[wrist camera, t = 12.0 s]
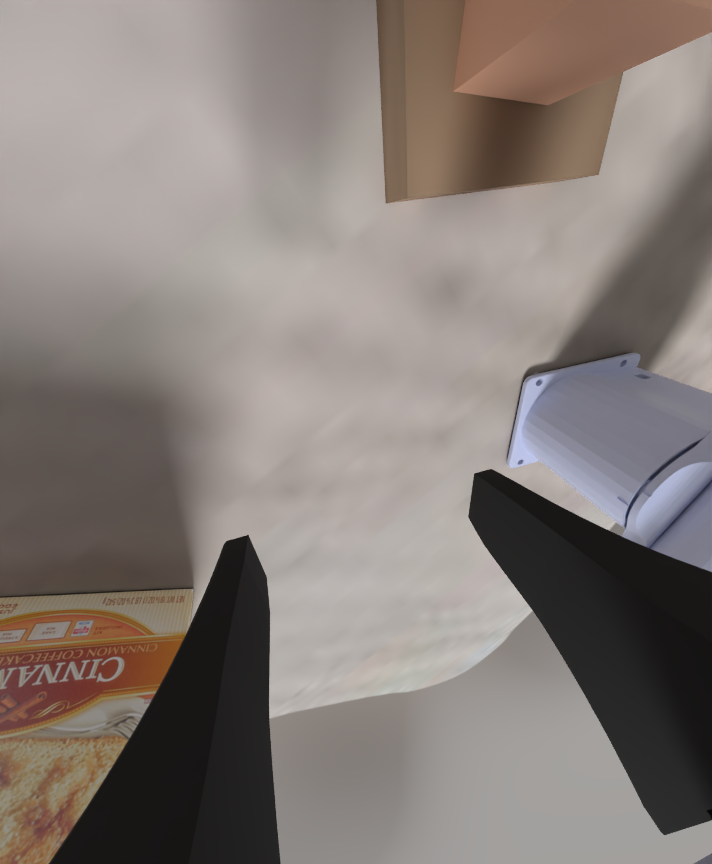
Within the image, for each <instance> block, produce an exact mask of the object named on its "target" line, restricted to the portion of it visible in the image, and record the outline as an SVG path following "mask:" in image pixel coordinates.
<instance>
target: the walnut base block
mask: <svg viewBox="0 0 712 864" xmlns="http://www.w3.org/2000/svg"><path fill="white" fill-rule="evenodd" d="M376 2H377V24H378V45H379V67H380V88H381V110H382V131H383V153H384V174H385V196H386V203H392V202H400V201H408V200H416V199H424V198H432V197H440V196H448V195H456V194H464V193H472V192H480V191H488V190H496V189H504V188H512V187H520V186H528V185H536V184H544V183H552V182H559V181H564V180H570V179H576V178H582V177H588V176H594V175H599V171H600V167H601V163H602V158H603V154H604V150H605V146H606V142H607V138H608V133H609V129H610V125H611V121H612V117H613V113H614V108H615V104H616V100H617V96H618V92H619V88H620V84H621V79H622V75H623V72H621V73H619V74H617V75H615V76H612V77H610V78H608V79H606V80H603V81H601V82H599V83H597V84H595V85H592V86H590V87H588V88H586V89H583V90H581V91H579V92H577V93H574V94H572V95H570V96H568V97H566V98H563V99H561V100H559V101H557V102H554V103H552V104H550V105H542V104H535V103H528V102H522V101H515V100H508V99H501V98H494V97H487V96H480V95H474V94H467V93H460V92H453V90H454V82H455V75H456V67H457V60H458V52H459V45H460V37H461V29H462V22H463V14H464V7H465V0H376Z"/></svg>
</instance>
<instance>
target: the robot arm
mask: <svg viewBox="0 0 712 864" xmlns="http://www.w3.org/2000/svg"><path fill="white" fill-rule="evenodd" d="M640 358H641V357H640V354H637V353H629V354H625V355H620V356H616V357H611V358H607V359H602V360H598V361H593V362H589V363H584V364H580V365H575V366H571V367H566V368H562V369H557V370H553V371H548V372H544V373H539V374H535V375H531V376H528V377H527V378H526V379H525V380H524V383H523V387H522V392H521V397H520V402H519V406H518V411H517V416H516V421H515V426H514V431H513V435H512V440H511V445H510V450H509V455H508V460H507V465H508V466H509V467H510V468H516V467H519V466H523V465H527V464H530V463H534V462H537V461H541V462H542V463H543V464H544V465H546V466H547V467H548V468H549V469H551V470H552V471H553V472H554V473H556V474H557V475H558V476H559V477H561V478H562V479H563V480H564V481H565V482H567V483H568V484H569V485H570V486H572V487H573V488H574V489H575V490H577V491H578V492H579V493H580V494H582V495H583V496H584V497H585V498H587V499H588V500H589V501H590V502H592V503H593V504H594V505H595V506H597V507H598V508H599V509H600V510H602V511H603V512H604V513H605V514H607V515H608V516H609V517H610V518H612V519H613V520H614V521H615V522H617V523H618V524H619V525H620V526H622V527H623V528H624V529H625V531H624V533H623V534H622V536H619V535H617V534H615V533H613V532H611V531H608V530H606V529H604V528H602V527H600V526H598V525H596V524H594V523H592V522H590V521H588V520H586V519H583V518H581V517H580V516H578V515H576V514H574V513H572V512H570V511H568V510H566V509H564V508H562V507H560V506H558V505H556V504H554V503H553V502H551V501H549V500H547V499H545V498H543V497H542V496H540V495H538V494H536V493H534V492H532V491H531V490H529V489H527V488H525V487H523V486H522V485H520V484H518V483H516V482H514V481H513V480H511V479H509V478H507V477H505V476H504V475H502V474H500V473H498V472H496V471H494V470H492V469H490V470H486V471H482V472H479V473H475V474H474V480H473V487H472V495H471V502H470V509H469V516H468V517H469V519H470V521H471V523H472V525H473V526H474V528H475V530H476V532H477V534H478V535H479V537H480V539H481V540H482V542H483V544H484V545H485V547H486V548H487V549H488V551H489V552H490V554H491V555H492V556H493V558H494V559H495V560H496V562H497V563H498V564H499V566H500V567H501V568H502V570H503V571H504V572H505V574H506V575H507V576H508V578H509V579H510V580H511V582H512V583H513V584H514V586H515V587H516V589H517V590H518V591H519V593H520V594H521V595H522V597H523V598H524V599H525V601H526V602H527V603H528V605H529V606H530V607H531V609H532V610H533V611H534V613H535V614H536V616H537V617H538V619H539V620H540V622H541V623H542V625H543V626H544V628H545V629H546V631H547V633H548V634H549V636H550V638H551V639H552V641H553V642H554V644H555V646H556V647H557V649H558V650H559V652H560V654H561V655H562V657H563V659H564V660H565V662H566V664H567V665H568V667H569V669H570V670H571V672H572V674H573V675H574V677H575V679H576V681H577V682H578V684H579V686H580V687H581V689H582V691H583V693H584V694H585V696H586V698H587V699H588V701H589V703H590V705H591V707H592V709H593V710H594V712H595V714H596V716H597V718H598V719H599V721H600V723H601V725H602V727H603V728H604V730H605V732H606V734H607V736H608V738H609V740H610V741H611V743H612V745H613V747H614V749H615V751H616V753H617V755H618V757H619V759H620V761H621V762H622V764H623V766H624V768H625V770H626V772H627V774H628V776H629V778H630V780H631V782H632V784H633V786H634V788H635V790H636V792H637V794H638V796H639V798H640V800H641V802H642V804H643V806H644V808H645V809H646V810H647V812H648V813H649V815H650V816H651V818H652V819H653V821H654V822H655V824H656V825H657V827H658V828H659V830H660V831H661V832H662V833H663V834H664V835H667V834H670V833H673V832H676V831H679V830H682V829H686V828H689V827H692V826H695V825H698V824H701V823H704V822H707V821H710V820H712V394H711V393H709V392H706V391H703V390H700V389H697V388H694V387H692V386H689V385H686V384H683V383H680V382H677V381H675V380H672V379H669V378H666V377H663V376H661V375H658V374H655V373H652V372H649V371H646V370H644V369H641V368H638V367H637V366H638V363H639V361H640ZM537 381H538V382H537ZM536 382H537V383H536ZM269 654H270V608H269V597H268V587H267V577H266V575H265V572H264V570H263V568H262V565H261V563H260V561H259V559H258V556H257V554H256V552H255V549H254V547H253V545H252V542H251V540H250V538H249V535H247V536H243V537H240V538H236V539H232V540H229V541H226V543H225V544H224V546H223V548H222V551H221V554H220V557H219V559H218V562H217V564H216V567H215V569H214V572H213V574H212V577H211V579H210V582H209V584H208V586H207V589H206V591H205V594H204V596H203V598H202V600H201V603H200V605H199V607H198V609H197V611H196V614H195V616H194V618H193V620H192V623H191V625H190V627H189V629H188V631H187V633H186V635H185V637H184V639H183V641H182V643H181V645H180V647H179V649H178V651H177V653H176V655H175V657H174V659H173V661H172V663H171V665H170V667H169V669H168V671H167V673H166V675H165V677H164V678H163V680H162V682H161V684H160V686H159V688H158V690H157V691H156V693H155V695H154V697H153V699H152V700H151V702H150V704H149V706H148V707H147V709H146V711H145V713H144V714H143V716H142V718H141V720H140V721H139V723H138V725H137V727H136V728H135V730H134V732H133V733H132V735H131V737H130V738H129V740H128V742H127V743H126V745H125V746H124V748H123V750H122V751H121V753H120V755H119V756H118V758H117V760H116V761H115V763H114V764H113V766H112V768H111V769H110V771H109V773H108V774H107V776H106V778H105V779H104V781H103V782H102V784H101V785H100V787H99V789H98V790H97V792H96V793H95V795H94V796H93V798H92V799H91V801H90V803H89V804H88V806H87V807H86V809H85V810H84V812H83V813H82V815H81V816H80V818H79V819H78V821H77V822H76V824H75V825H74V827H73V828H72V830H71V831H70V833H69V834H68V836H67V837H66V839H65V840H64V842H63V843H62V844H61V846H60V847H59V849H58V850H57V852H56V853H55V855H54V856H53V858H52V859H51V861H50V862H49V864H280V854H279V843H278V832H277V821H276V809H275V795H274V783H273V771H272V757H271V741H270V728H269V727H270V726H269ZM694 864H712V854H710V855H708V856H706V857H705V858H703V859H701V860H700V861H698V862H696V863H694Z"/></svg>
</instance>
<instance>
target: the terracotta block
mask: <svg viewBox="0 0 712 864" xmlns="http://www.w3.org/2000/svg"><path fill="white" fill-rule="evenodd" d="M710 32H712V0H465V7H464V14H463V22H462V29H461V37H460V45H459V52H458V60H457V67H456V75H455V82H454V90H453V92H460V93H467V94H474V95H480V96H487V97H494V98H501V99H508V100H515V101H522V102H528V103H535V104H542V105H550V104H552V103H554V102H557V101H559V100H561V99H563V98H566V97H568V96H570V95H572V94H574V93H577V92H579V91H581V90H583V89H586V88H588V87H590V86H592V85H595V84H597V83H599V82H601V81H603V80H606V79H608V78H610V77H612V76H615V75H617V74H619V73H621V72H624V71H626V70H628V69H630V68H632V67H635V66H637V65H639V64H641V63H644V62H646V61H648V60H650V59H652V58H655V57H657V56H659V55H661V54H664V53H666V52H668V51H670V50H673V49H675V48H677V47H679V46H681V45H684V44H686V43H688V42H690V41H693V40H695V39H697V38H699V37H702V36H704V35H706V34H708V33H710Z"/></svg>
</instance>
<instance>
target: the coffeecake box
mask: <svg viewBox="0 0 712 864" xmlns="http://www.w3.org/2000/svg"><path fill="white" fill-rule="evenodd" d="M193 591H194V589H173V590H153V591H131V592H112V593H93V594H72V595H49V596H27V597H4V598H0V864H49V862H50V861H51V859H52V858H53V856H54V855H55V853H56V852H57V850H58V849H59V847H60V846H61V844H62V843H63V842H64V840H65V839H66V837H67V836H68V834H69V833H70V831H71V830H72V828H73V827H74V825H75V824H76V822H77V821H78V819H79V818H80V816H81V815H82V813H83V812H84V810H85V809H86V807H87V806H88V804H89V803H90V801H91V799H92V798H93V796H94V795H95V793H96V792H97V790H98V789H99V787H100V785H101V784H102V782H103V781H104V779H105V778H106V776H107V774H108V773H109V771H110V769H111V768H112V766H113V764H114V763H115V761H116V760H117V758H118V756H119V755H120V753H121V751H122V750H123V748H124V746H125V745H126V743H127V742H128V740H129V738H130V737H131V735H132V733H133V732H134V730H135V728H136V727H137V725H138V723H139V721H140V720H141V718H142V716H143V714H144V713H145V711H146V709H147V707H148V706H149V704H150V702H151V700H152V699H153V697H154V695H155V693H156V691H157V690H158V688H159V686H160V684H161V682H162V680H163V678H164V677H165V675H166V673H167V671H168V669H169V667H170V665H171V663H172V661H173V659H174V657H175V655H176V653H177V651H178V649H179V647H180V645H181V643H182V641H183V639H184V637H185V635H186V633H187V631H188V629H189V627H190V619H191V610H192V601H193Z"/></svg>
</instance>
